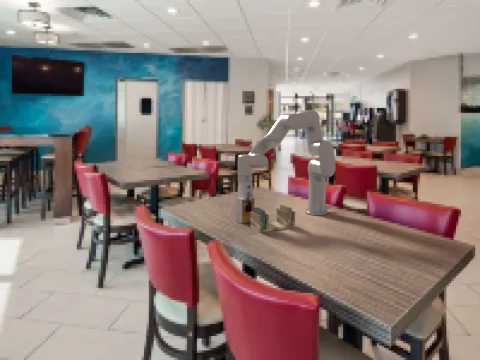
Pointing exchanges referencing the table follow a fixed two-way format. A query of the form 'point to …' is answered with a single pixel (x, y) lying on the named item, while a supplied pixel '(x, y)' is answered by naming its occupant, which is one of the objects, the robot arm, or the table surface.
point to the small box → (243, 211)
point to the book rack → (283, 222)
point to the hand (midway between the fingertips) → (244, 209)
